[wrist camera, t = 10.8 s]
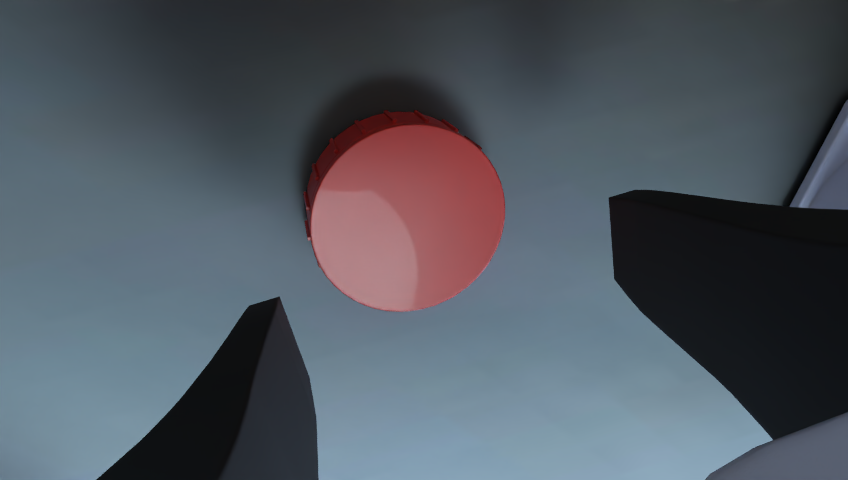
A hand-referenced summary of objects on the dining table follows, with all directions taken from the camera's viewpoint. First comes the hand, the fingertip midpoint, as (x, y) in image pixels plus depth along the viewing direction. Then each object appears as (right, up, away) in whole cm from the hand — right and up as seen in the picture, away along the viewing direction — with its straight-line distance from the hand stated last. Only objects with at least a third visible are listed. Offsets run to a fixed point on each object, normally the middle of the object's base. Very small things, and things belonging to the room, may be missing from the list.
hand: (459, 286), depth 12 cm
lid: (-1, +1, +4) cm, 4 cm away
